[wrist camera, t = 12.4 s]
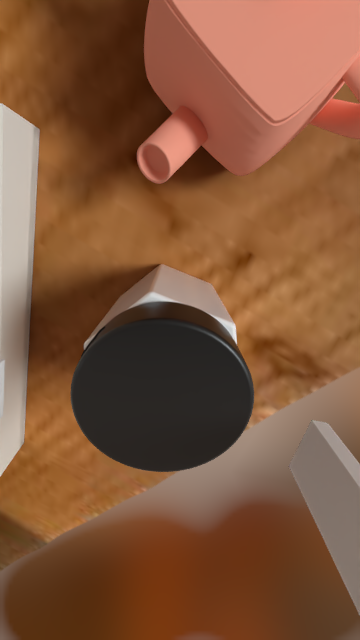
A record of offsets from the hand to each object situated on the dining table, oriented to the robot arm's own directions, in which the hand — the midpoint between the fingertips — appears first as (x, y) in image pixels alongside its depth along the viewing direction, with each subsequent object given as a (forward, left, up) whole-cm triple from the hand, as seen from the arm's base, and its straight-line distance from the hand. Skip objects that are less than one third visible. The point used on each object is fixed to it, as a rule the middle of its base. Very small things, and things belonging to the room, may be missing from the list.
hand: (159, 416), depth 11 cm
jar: (0, 0, -12) cm, 12 cm away
